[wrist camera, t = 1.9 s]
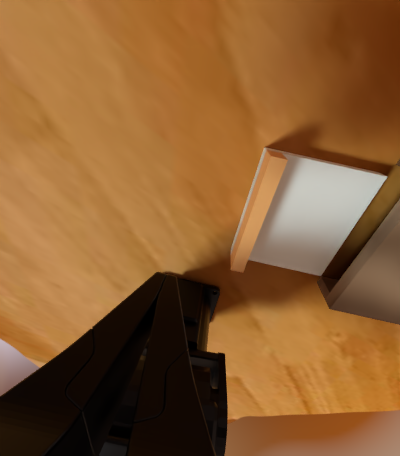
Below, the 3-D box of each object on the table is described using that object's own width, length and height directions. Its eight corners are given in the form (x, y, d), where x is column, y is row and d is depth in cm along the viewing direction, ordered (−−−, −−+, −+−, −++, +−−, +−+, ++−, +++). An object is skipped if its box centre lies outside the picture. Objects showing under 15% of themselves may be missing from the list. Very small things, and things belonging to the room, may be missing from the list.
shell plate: (316, 266, 20) (329, 292, 17) (230, 247, 20) (230, 269, 17) (376, 171, 15) (407, 186, 12) (263, 146, 15) (271, 156, 12)
